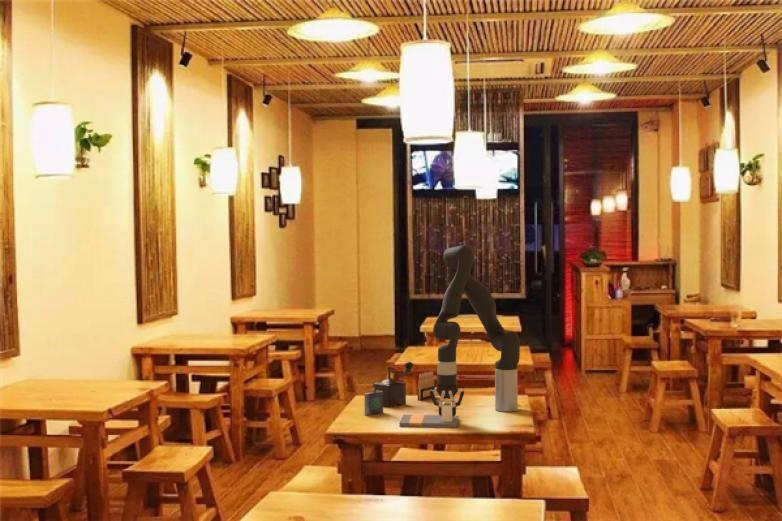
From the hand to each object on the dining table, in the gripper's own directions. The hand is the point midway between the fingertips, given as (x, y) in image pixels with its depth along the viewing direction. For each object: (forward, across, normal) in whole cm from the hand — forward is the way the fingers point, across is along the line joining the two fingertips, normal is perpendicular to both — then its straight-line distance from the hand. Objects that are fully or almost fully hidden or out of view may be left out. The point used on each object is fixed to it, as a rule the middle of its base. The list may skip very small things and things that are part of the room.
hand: (447, 416), depth 364 cm
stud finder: (+1, 0, 0) cm, 1 cm away
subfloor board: (+3, +7, 0) cm, 8 cm away
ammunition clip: (+3, +12, -50) cm, 51 cm away
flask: (+3, +31, -16) cm, 35 cm away
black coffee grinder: (+3, +25, -38) cm, 45 cm away
